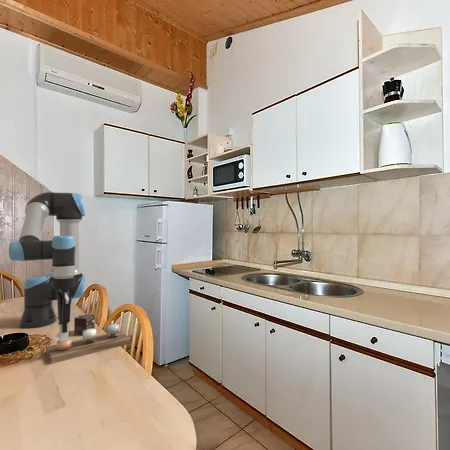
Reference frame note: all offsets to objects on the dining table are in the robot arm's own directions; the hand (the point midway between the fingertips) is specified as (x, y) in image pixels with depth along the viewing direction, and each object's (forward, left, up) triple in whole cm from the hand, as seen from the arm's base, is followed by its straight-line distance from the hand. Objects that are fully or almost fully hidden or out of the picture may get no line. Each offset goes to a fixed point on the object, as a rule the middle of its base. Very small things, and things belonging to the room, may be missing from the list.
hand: (63, 340), depth 111 cm
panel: (0, +9, -5) cm, 10 cm away
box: (-20, +12, -5) cm, 24 cm away
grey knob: (0, +18, -3) cm, 18 cm away
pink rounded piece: (0, 0, -5) cm, 5 cm away
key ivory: (0, +9, -3) cm, 9 cm away
